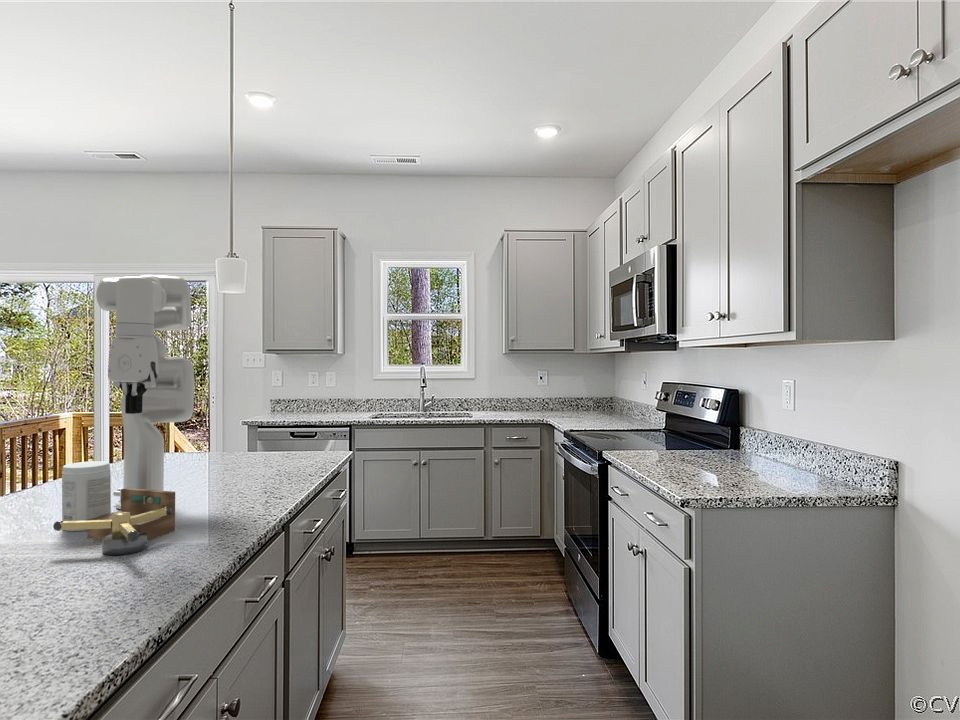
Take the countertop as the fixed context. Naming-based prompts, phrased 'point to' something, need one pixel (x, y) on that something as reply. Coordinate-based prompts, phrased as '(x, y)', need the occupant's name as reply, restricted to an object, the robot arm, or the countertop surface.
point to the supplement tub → (86, 491)
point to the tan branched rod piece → (118, 530)
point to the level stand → (138, 504)
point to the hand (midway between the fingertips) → (133, 413)
